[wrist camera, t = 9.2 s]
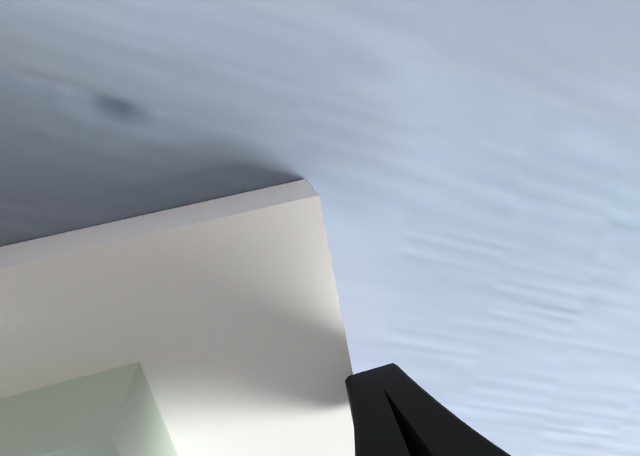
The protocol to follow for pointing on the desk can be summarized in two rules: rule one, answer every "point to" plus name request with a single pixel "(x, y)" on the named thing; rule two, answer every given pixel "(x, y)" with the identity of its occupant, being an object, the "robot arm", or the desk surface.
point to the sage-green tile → (86, 418)
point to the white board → (194, 320)
